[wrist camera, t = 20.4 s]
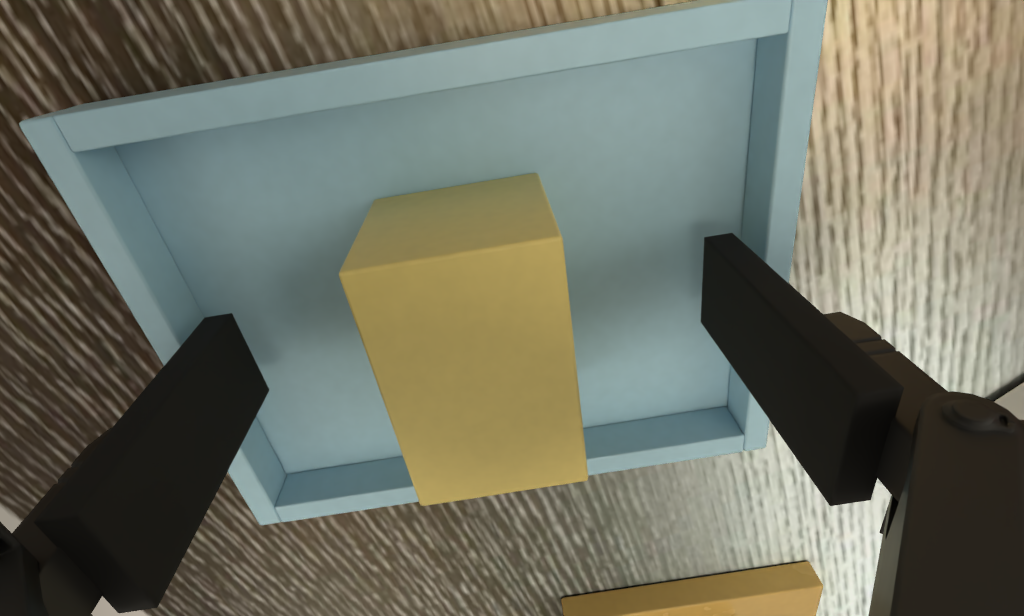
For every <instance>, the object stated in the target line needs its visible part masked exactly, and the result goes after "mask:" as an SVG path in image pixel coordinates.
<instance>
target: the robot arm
mask: <svg viewBox="0 0 1024 616" xmlns="http://www.w3.org/2000/svg"><path fill="white" fill-rule="evenodd" d="M701 323H702V325H703V326H704V328H705V329H706V330H707V332H708V333H709V335H710V336H711V337H712V339H713V340H714V342H715V343H716V345H717V346H718V347H719V349H720V350H721V352H722V353H723V354H724V356H725V357H726V359H727V360H728V362H729V363H730V364H731V366H732V367H733V369H734V370H735V372H736V373H737V374H738V376H739V377H740V379H741V380H742V381H743V383H744V384H745V386H746V387H747V389H748V390H749V391H750V393H751V394H752V396H753V397H754V398H755V400H756V401H757V403H758V404H759V406H760V407H761V408H762V410H763V411H764V413H765V414H766V415H767V417H768V418H769V420H770V421H771V423H772V424H773V425H774V427H775V428H776V430H777V431H778V432H779V434H780V435H781V437H782V438H783V440H784V441H785V442H786V444H787V445H788V447H789V448H790V449H791V451H792V452H793V454H794V455H795V457H796V458H797V459H798V461H799V462H800V464H801V465H802V466H803V468H804V469H805V471H806V472H807V474H808V475H809V476H810V478H811V479H812V481H813V482H814V484H815V485H816V486H817V488H818V489H819V491H820V492H821V493H822V495H823V496H824V498H825V499H826V501H827V502H828V503H829V505H830V506H833V505H840V504H846V503H853V502H860V501H866V500H871V497H872V493H873V490H874V487H875V483H876V480H877V478H878V479H879V480H880V481H881V482H882V484H883V485H884V486H885V487H886V488H887V489H888V491H889V492H890V493H891V494H892V496H891V499H890V502H889V505H888V508H887V511H886V514H885V517H884V520H883V523H882V527H881V530H880V533H881V534H883V538H882V543H881V549H880V555H879V560H878V566H877V572H876V577H875V583H874V588H873V594H872V600H871V605H870V611H869V616H1024V420H1019V419H1018V418H1017V417H1016V416H1014V415H1013V414H1012V413H1011V412H1010V411H1009V410H1008V409H1006V408H1004V407H1002V406H1000V405H999V404H997V403H995V402H993V401H991V400H988V399H985V398H982V397H979V396H976V395H973V394H967V393H960V392H948V391H946V390H945V389H944V388H943V387H941V386H940V385H939V384H938V383H937V382H935V381H934V380H933V379H932V378H931V377H929V376H928V375H927V374H926V373H925V372H923V371H922V370H921V369H920V368H919V367H917V366H916V365H915V364H914V363H912V362H911V361H910V360H909V359H908V358H906V357H905V356H904V355H903V354H902V353H900V352H899V351H897V352H896V350H895V348H894V347H893V346H892V345H891V344H890V343H888V342H887V341H886V340H885V339H884V340H882V339H881V336H880V335H879V334H877V333H876V332H875V331H874V330H873V329H871V328H870V327H869V326H868V325H867V324H865V323H864V322H862V321H860V320H857V319H855V318H853V317H851V316H848V315H846V314H844V313H842V312H836V313H830V314H822V313H821V312H820V311H819V310H818V309H816V308H815V307H814V306H813V305H812V304H811V303H810V302H809V301H808V300H806V299H805V298H804V297H803V296H802V295H801V294H800V293H799V292H798V291H796V290H795V289H794V288H793V287H792V286H791V285H790V284H789V283H788V282H786V281H785V280H784V279H783V278H782V277H781V276H780V275H779V274H778V273H777V272H775V271H774V270H773V269H772V268H771V267H770V266H769V265H768V264H767V263H765V262H764V261H763V260H762V259H761V258H760V257H759V256H758V255H757V254H755V253H754V252H753V251H752V250H751V249H750V248H749V247H748V246H747V245H745V244H744V243H743V242H742V241H741V240H740V239H739V238H738V237H737V236H735V235H734V234H733V233H727V234H721V235H715V236H709V237H704V255H703V278H702V301H701ZM268 392H269V388H268V386H267V384H266V382H265V380H264V378H263V375H262V373H261V371H260V369H259V367H258V365H257V363H256V361H255V359H254V357H253V355H252V353H251V351H250V349H249V347H248V345H247V343H246V341H245V339H244V337H243V335H242V333H241V331H240V328H239V326H238V324H237V322H236V320H235V318H234V316H233V314H232V313H229V314H223V315H217V316H211V317H205V318H204V319H203V320H202V321H201V323H200V324H199V325H198V326H197V327H196V329H195V330H194V331H193V332H192V333H191V335H190V336H189V337H188V338H187V339H186V341H185V342H184V343H183V344H182V345H181V347H180V348H179V349H178V350H177V351H176V353H175V354H174V355H173V356H172V357H171V358H170V360H169V361H168V362H167V363H166V364H165V366H164V367H163V368H162V369H161V370H160V372H159V373H158V374H157V375H156V376H155V378H154V379H153V380H152V381H151V382H150V384H149V385H148V386H147V387H146V388H145V390H144V391H143V392H142V393H141V394H140V395H139V397H138V398H137V399H136V400H135V401H134V403H133V404H132V405H131V406H130V407H129V409H128V410H127V411H126V412H125V413H124V415H123V416H122V417H121V418H120V419H119V421H118V422H117V423H116V424H115V425H114V427H113V428H110V429H109V430H107V431H106V432H105V433H103V434H102V435H101V436H100V437H98V438H97V439H96V440H94V441H93V442H92V443H90V444H89V445H88V446H87V447H86V448H85V449H84V450H83V452H82V453H81V454H80V455H79V456H78V457H77V459H76V460H75V461H74V462H73V463H72V464H71V466H72V467H71V468H68V469H67V470H66V471H65V472H64V474H63V475H62V476H61V477H60V478H59V479H58V484H54V485H53V486H52V488H51V489H50V490H49V491H48V492H47V493H46V495H45V496H44V497H43V498H42V499H41V500H40V502H39V503H38V504H37V505H36V506H35V507H34V509H33V510H32V511H31V512H30V513H29V514H28V516H27V517H26V518H25V519H24V520H23V521H22V522H21V524H20V525H19V526H18V527H17V528H16V529H15V531H14V532H13V533H11V532H10V531H9V530H8V529H7V528H6V527H5V526H4V525H3V524H2V523H1V522H0V616H92V614H91V613H92V611H93V610H94V608H95V607H96V605H97V603H98V602H99V600H100V598H101V597H102V596H103V597H104V598H105V599H106V600H107V601H108V602H109V603H110V604H111V606H112V607H113V608H114V609H115V610H116V611H117V612H118V613H124V612H131V611H137V610H144V609H151V608H157V607H158V605H159V603H160V601H161V599H162V597H163V595H164V593H165V591H166V589H167V587H168V586H169V584H170V582H171V580H172V578H173V576H174V574H175V572H176V570H177V568H178V566H179V564H180V562H181V560H182V558H183V557H184V555H185V553H186V551H187V549H188V547H189V545H190V543H191V541H192V539H193V537H194V535H195V533H196V531H197V529H198V528H199V526H200V524H201V522H202V520H203V518H204V516H205V514H206V512H207V510H208V508H209V506H210V504H211V502H212V500H213V499H214V497H215V495H216V493H217V491H218V489H219V487H220V485H221V483H222V481H223V479H224V477H225V475H226V473H227V471H228V470H229V468H230V466H231V464H232V462H233V460H234V458H235V456H236V454H237V452H238V450H239V448H240V446H241V444H242V442H243V441H244V439H245V437H246V435H247V433H248V431H249V429H250V427H251V425H252V423H253V421H254V419H255V417H256V415H257V413H258V412H259V410H260V408H261V406H262V404H263V402H264V400H265V398H266V396H267V394H268Z"/></svg>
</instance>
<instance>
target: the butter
mask: <svg viewBox="0 0 1024 616" xmlns="http://www.w3.org/2000/svg"><path fill="white" fill-rule="evenodd" d="M339 278H340V281H341V283H342V286H343V289H344V292H345V295H346V297H347V300H348V303H349V306H350V309H351V311H352V314H353V317H354V320H355V323H356V326H357V328H358V331H359V334H360V337H361V340H362V342H363V345H364V348H365V351H366V354H367V356H368V359H369V362H370V365H371V368H372V370H373V373H374V376H375V379H376V382H377V385H378V387H379V390H380V393H381V396H382V399H383V401H384V404H385V407H386V410H387V413H388V415H389V418H390V421H391V424H392V427H393V430H394V432H395V435H396V438H397V441H398V444H399V446H400V449H401V452H402V455H403V458H404V460H405V463H406V466H407V469H408V472H409V474H410V477H411V480H412V483H413V486H414V489H415V491H416V494H417V497H418V500H419V503H420V505H421V506H426V505H433V504H439V503H445V502H452V501H458V500H465V499H471V498H478V497H484V496H491V495H497V494H504V493H510V492H517V491H523V490H529V489H536V488H542V487H549V486H555V485H562V484H568V483H575V482H581V481H586V480H587V479H588V469H587V460H586V451H585V441H584V432H583V423H582V413H581V404H580V395H579V385H578V376H577V367H576V357H575V348H574V339H573V329H572V320H571V311H570V301H569V292H568V283H567V273H566V264H565V255H564V245H563V238H562V235H561V233H560V230H559V227H558V225H557V222H556V219H555V217H554V214H553V212H552V209H551V206H550V204H549V201H548V198H547V196H546V193H545V190H544V188H543V185H542V182H541V180H540V177H539V175H538V173H531V174H525V175H519V176H513V177H507V178H501V179H495V180H489V181H483V182H477V183H471V184H465V185H459V186H453V187H447V188H441V189H435V190H429V191H423V192H417V193H411V194H405V195H399V196H393V197H387V198H381V199H376V200H374V202H373V204H372V206H371V208H370V210H369V212H368V214H367V216H366V218H365V220H364V222H363V224H362V226H361V228H360V230H359V232H358V234H357V237H356V239H355V241H354V243H353V245H352V247H351V249H350V251H349V253H348V255H347V257H346V259H345V261H344V263H343V265H342V267H341V269H340V271H339Z"/></svg>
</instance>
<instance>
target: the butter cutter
mask: <svg viewBox="0 0 1024 616" xmlns="http://www.w3.org/2000/svg"><path fill="white" fill-rule="evenodd" d="M822 589H823V584H822V583H821V581H820V579H819V578H818V576H817V574H816V573H815V571H814V569H813V568H812V566H811V564H810V563H809V562H808V561H806V562H799V563H792V564H786V565H779V566H772V567H765V568H759V569H752V570H745V571H739V572H732V573H725V574H718V575H712V576H705V577H698V578H692V579H685V580H678V581H672V582H665V583H658V584H651V585H645V586H638V587H631V588H625V589H618V590H611V591H605V592H598V593H591V594H584V595H578V596H571V597H564V598H562V599H561V602H562V609H563V616H816V612H817V608H818V605H819V601H820V597H821V593H822Z"/></svg>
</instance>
